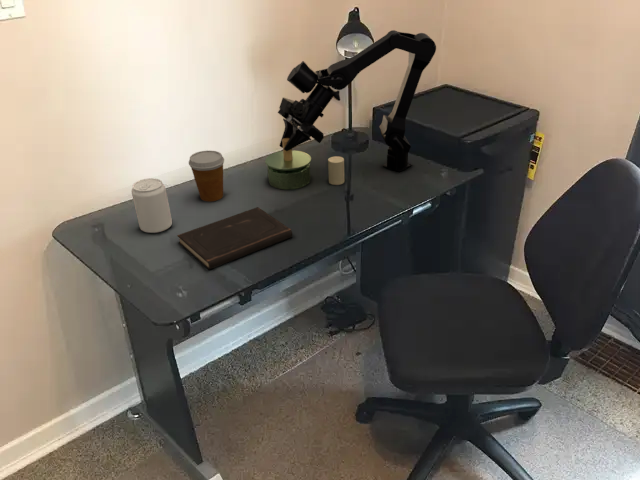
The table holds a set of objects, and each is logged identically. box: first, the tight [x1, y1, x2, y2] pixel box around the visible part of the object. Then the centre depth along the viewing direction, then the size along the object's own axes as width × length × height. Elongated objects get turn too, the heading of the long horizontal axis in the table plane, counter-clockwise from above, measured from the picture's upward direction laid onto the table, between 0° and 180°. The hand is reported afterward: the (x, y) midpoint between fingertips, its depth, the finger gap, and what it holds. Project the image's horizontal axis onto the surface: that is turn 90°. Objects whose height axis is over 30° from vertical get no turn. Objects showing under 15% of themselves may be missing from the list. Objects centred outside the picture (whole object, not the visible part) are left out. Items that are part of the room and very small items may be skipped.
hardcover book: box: [176, 206, 293, 271], centre depth 151 cm, size 16×23×2 cm
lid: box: [264, 138, 312, 170], centre depth 175 cm, size 13×13×7 cm
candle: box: [327, 155, 345, 186], centre depth 177 cm, size 5×5×7 cm
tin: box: [266, 163, 312, 191], centre depth 179 cm, size 12×12×5 cm
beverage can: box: [131, 177, 173, 234], centre depth 154 cm, size 8×8×12 cm
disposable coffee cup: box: [188, 150, 225, 202], centre depth 168 cm, size 10×10×12 cm
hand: (282, 148), depth 174 cm, fingers closed on lid, 2 cm apart
